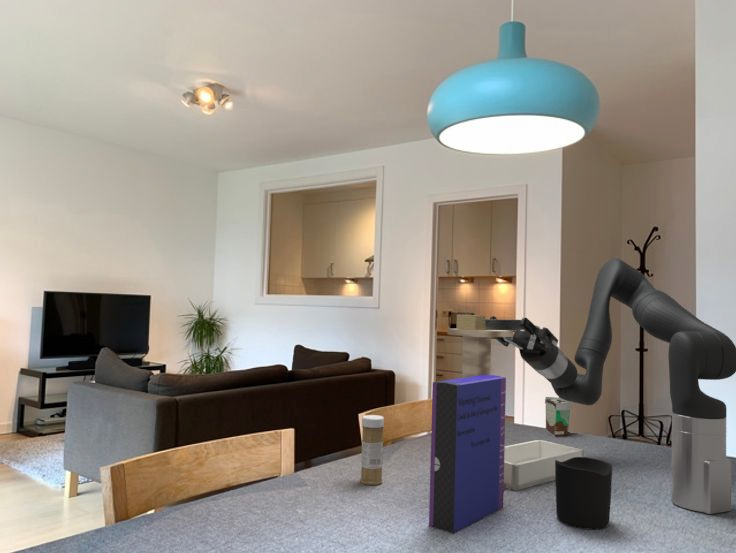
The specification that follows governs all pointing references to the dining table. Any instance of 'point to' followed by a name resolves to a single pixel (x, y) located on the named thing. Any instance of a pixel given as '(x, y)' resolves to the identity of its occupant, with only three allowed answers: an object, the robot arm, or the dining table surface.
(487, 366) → the bracket
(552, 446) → the tray
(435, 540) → the dining table surface
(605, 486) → the pen holder
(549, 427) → the food container
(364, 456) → the sprinkles bottle
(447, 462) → the purple book
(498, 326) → the pin
